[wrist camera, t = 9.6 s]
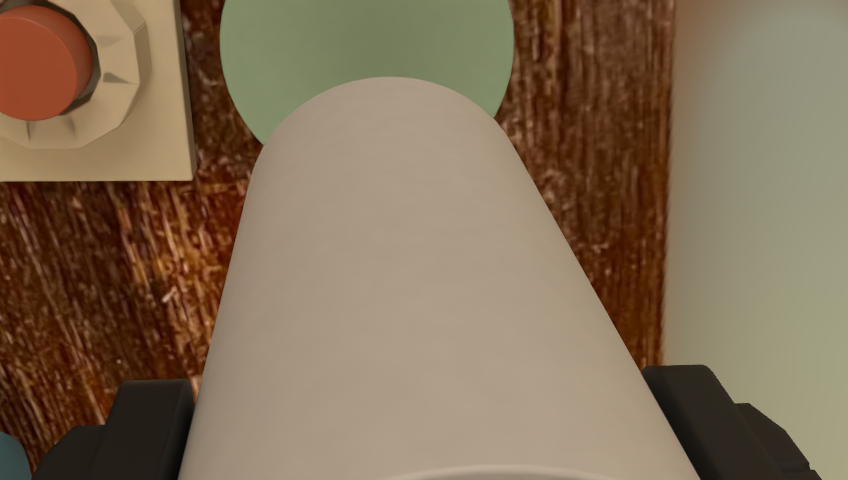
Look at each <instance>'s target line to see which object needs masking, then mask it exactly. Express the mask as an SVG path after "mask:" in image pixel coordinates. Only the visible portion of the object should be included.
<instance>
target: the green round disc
mask: <svg viewBox="0 0 848 480" xmlns="http://www.w3.org/2000/svg"><path fill="white" fill-rule="evenodd" d="M220 56H221V62H222V69H223V74H224V77H225V81H226V84H227V88H228V91H229V93H230V96H231V98H232V100H233V102H234V105H235V107H236V109H237V111H238V112H239V114H240V116H241V117H242V119H243V121H244V122H245V124H246V125H247V127H248V128H249V129H250V130H251V132H252V133H253V134H254V136H255V137H256V138H257V139H258V140H259V141H260V142H261V143H262V144H263V145H265V144H266V142H267V141H268V139H269V138H270V136H271V134H272V133H273V132H274V131H275V129H276V128H277V127H278V126H279V125H280V124H281V123H282V122H283V120H284V119H285V118H286V117H288V116H289V115H290V114H291V113H292V112H293V111H295V110H296V109H297V108H298V107H299V106H301V105H302V104H304V103H305V102H307V101H308V100H310V99H312V98H313V97H315V96H316V95H318V94H320V93H323V92H325V91H327V90H329V89H331V88H333V87H336V86H339V85H342V84H345V83H348V82H352V81H356V80H362V79H367V78H373V77H406V78H414V79H419V80H424V81H429V82H433V83H435V84H438V85H441V86H444V87H447V88H450V89H451V90H453V91H455V92H457V93H459V94H461V95H463V96H465V97H467V98H468V99H470V100H471V101H473V102H474V103H476V104H477V105H478V106H480V107H481V108H482V109H483V110H484V111H486V112H487V113H488V114H489V115H490V116H491V117H492V118H494V116H495V114H496V112H497V111H498V109H499V107H500V104H501V102H502V100H503V97H504V95H505V93H506V89H507V86H508V82H509V79H510V76H511V70H512V63H513V57H514V32H513V22H512V16H511V12H510V8H509V3H508V0H225V4H224V8H223V12H222V19H221V27H220Z"/></svg>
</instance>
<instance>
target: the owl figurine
mask: <svg viewBox="0 0 848 480" xmlns="http://www.w3.org/2000/svg"><path fill="white" fill-rule="evenodd" d="M0 480H31V473H30V467H29V463H28V459H27V456H26V452H25V450H24V448H23V446H22V445H21V443H20V442H19V441H18V440H17V439H15V438H14V437H12V436H10V435H8V434H6V433H3V432H0Z"/></svg>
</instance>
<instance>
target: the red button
mask: <svg viewBox="0 0 848 480" xmlns="http://www.w3.org/2000/svg"><path fill="white" fill-rule="evenodd" d="M92 73H93V56H92V51H91V48H90V46H89V43H88V41H87V39H86V37H85V36H84V34H83V33H82V32H81V30H80V29H79V28H78V27H77V26H76V25H75V24H74V23H73V22H72V21H71V20H70V19H68V18H67V17H66V16H64V15H62V14H61V13H59V12H57V11H55V10H53V9H50V8H47V7H43V6H38V5H22V6H17V7H14V8H11V9H9V10H7V11H5V12H3V13H1V14H0V112H1V113H3V114H5V115H7V116H10V117H12V118H16V119H20V120H25V121H41V120H46V119H50V118H53V117H55V116H57V115H59V114H60V113H62V112H63V111H64V110H65V109H67V108H68V107H69V106H70V105H71V104H72V103H73V101H74V100H75V99H76V98H77V97H78V96H79V95H80V94H81V93H82V92H83V91H84V90H85V89H86V87H87V86H88V84H89V82H90V80H91V77H92Z"/></svg>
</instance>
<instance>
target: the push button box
mask: <svg viewBox="0 0 848 480" xmlns="http://www.w3.org/2000/svg"><path fill="white" fill-rule="evenodd" d="M22 5H38V6H43V7H47V8H50V9H53V10H55V11H57V12H59V13H61V14H62V15H64V16H66V17H67V18H68V19H70V20H71V21H72V22H73V23H74V24H75V25H76V26H77V27H78V28H79V29H80V30H81V32H82V33H83V34H84V36H85V37H86V39H87V41H88V43H89V46H90V48H91V51H92V56H93V73H92V77H91V80H90V82H89V84H88V86H87V87H86V89H85V90H84V91H83V92H82V93H81V94H80V95H79V96H78V97H77V98H76V99H75V100H74V101H73V103H72V104H71V105H70V106H69V107H68V108H67V109H65V110H64V111H63V112H62V113H60V114H59V115H57V116H55V117H53V118H50V119H46V120H41V121H25V120H20V119H16V118H12V117H10V116H7V115H5V114H3V113H1V112H0V181H191V180H192V179H193V177H194V175H195V172H196V170H197V161H196V152H195V142H194V133H193V123H192V114H191V104H190V95H189V85H188V76H187V66H186V57H185V47H184V37H183V28H182V18H181V9H180V0H0V14H1V13H3V12H5V11H7V10H9V9H11V8H14V7H17V6H22Z"/></svg>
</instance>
